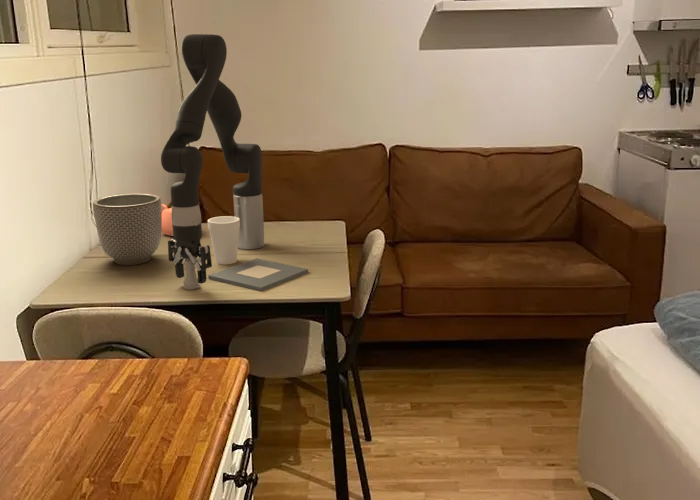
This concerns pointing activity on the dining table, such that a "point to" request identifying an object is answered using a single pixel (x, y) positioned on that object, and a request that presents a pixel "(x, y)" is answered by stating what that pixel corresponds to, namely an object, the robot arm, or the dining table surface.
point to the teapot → (167, 221)
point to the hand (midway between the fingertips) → (191, 280)
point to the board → (258, 274)
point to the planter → (129, 226)
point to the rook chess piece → (190, 276)
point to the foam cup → (224, 238)
